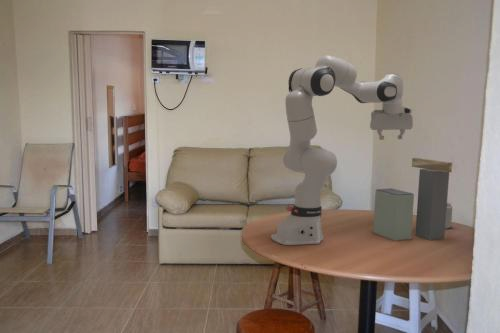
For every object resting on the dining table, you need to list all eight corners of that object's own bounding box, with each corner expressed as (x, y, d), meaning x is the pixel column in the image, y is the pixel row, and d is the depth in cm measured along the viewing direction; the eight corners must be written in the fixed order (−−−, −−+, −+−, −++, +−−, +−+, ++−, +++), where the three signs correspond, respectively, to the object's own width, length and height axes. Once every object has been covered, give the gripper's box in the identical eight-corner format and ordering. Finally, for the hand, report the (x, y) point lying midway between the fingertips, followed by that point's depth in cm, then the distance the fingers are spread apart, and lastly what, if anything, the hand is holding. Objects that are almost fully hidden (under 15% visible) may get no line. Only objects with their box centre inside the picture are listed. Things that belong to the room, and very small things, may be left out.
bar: (447, 172, 186) (448, 162, 185) (411, 166, 204) (412, 158, 203) (451, 172, 187) (452, 162, 186) (415, 166, 205) (416, 157, 204)
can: (453, 229, 210) (455, 204, 209) (437, 229, 211) (439, 204, 209) (447, 225, 218) (448, 201, 216) (431, 225, 218) (433, 201, 217)
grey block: (395, 240, 190) (398, 194, 187) (373, 232, 202) (375, 189, 200) (411, 238, 193) (414, 193, 191) (388, 230, 206) (391, 188, 203)
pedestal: (429, 240, 192) (434, 171, 188) (415, 235, 199) (419, 169, 195) (444, 237, 196) (449, 170, 192) (430, 233, 203) (434, 168, 199)
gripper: (374, 109, 201) (373, 140, 203) (415, 109, 205) (413, 139, 207) (368, 109, 207) (367, 139, 209) (407, 109, 211) (406, 138, 213)
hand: (390, 139), depth 208 cm, fingers open, 8 cm apart
